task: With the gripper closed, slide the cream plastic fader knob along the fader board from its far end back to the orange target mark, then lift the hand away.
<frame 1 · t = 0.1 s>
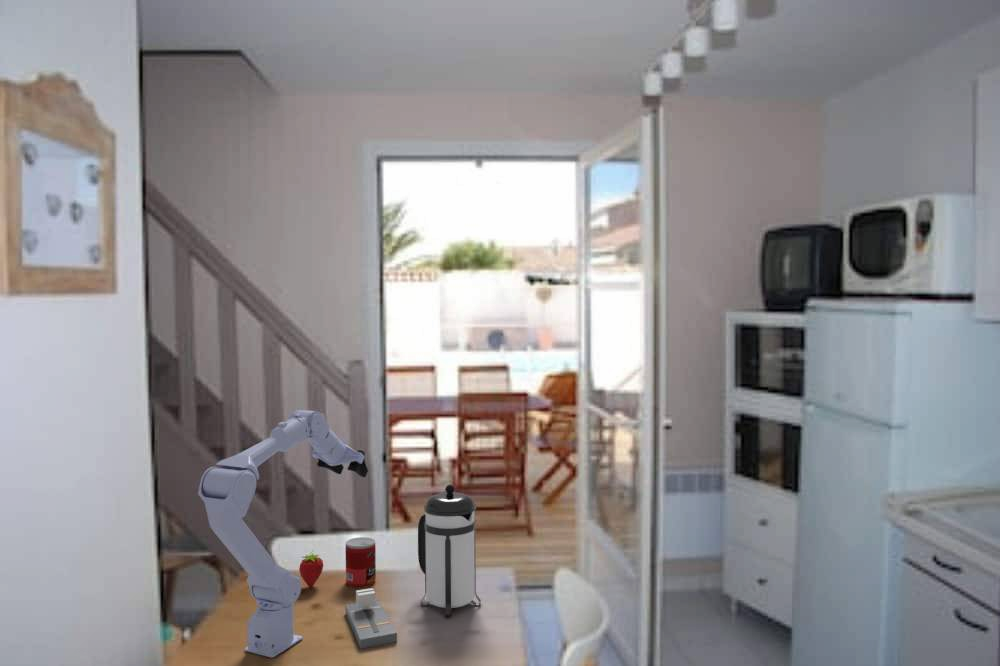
hand: (353, 472, 172), 32 cm above the table, tool tilted 50°, fingers open, 7 cm apart
strawberry: (311, 587, 179), on the table
coffee press: (446, 604, 168), on the table
canned food: (360, 582, 182), on the table
fader board: (370, 626, 156), on the table
fader knob: (365, 599, 160), point 4 cm above the table, slide at 5.0 cm
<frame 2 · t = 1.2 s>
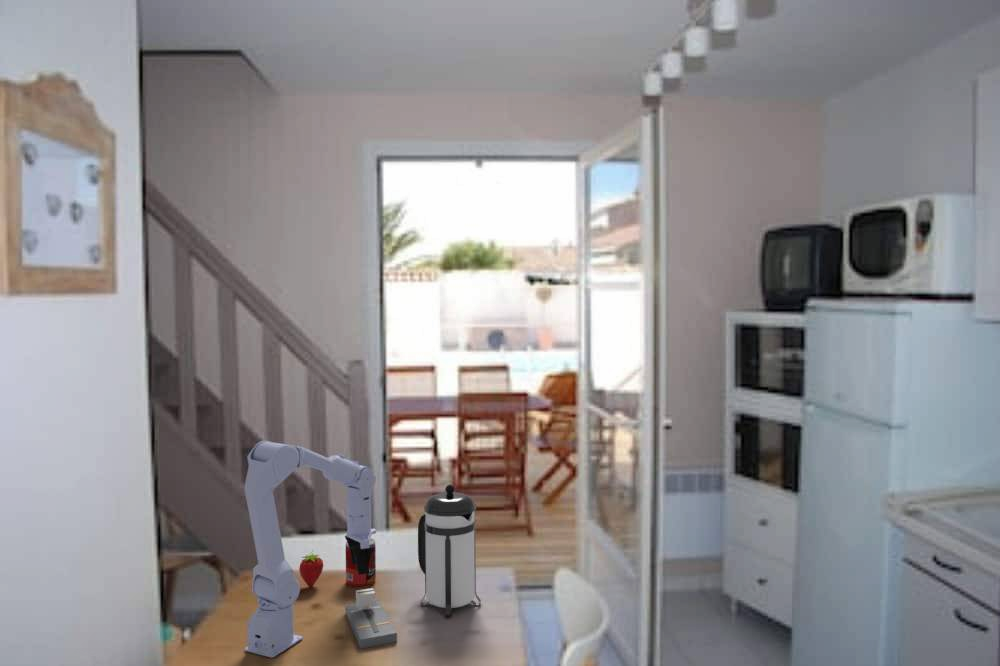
hand: (359, 568, 167), 9 cm above the table, tool pointing down, fingers open, 7 cm apart
nothing on the table moved.
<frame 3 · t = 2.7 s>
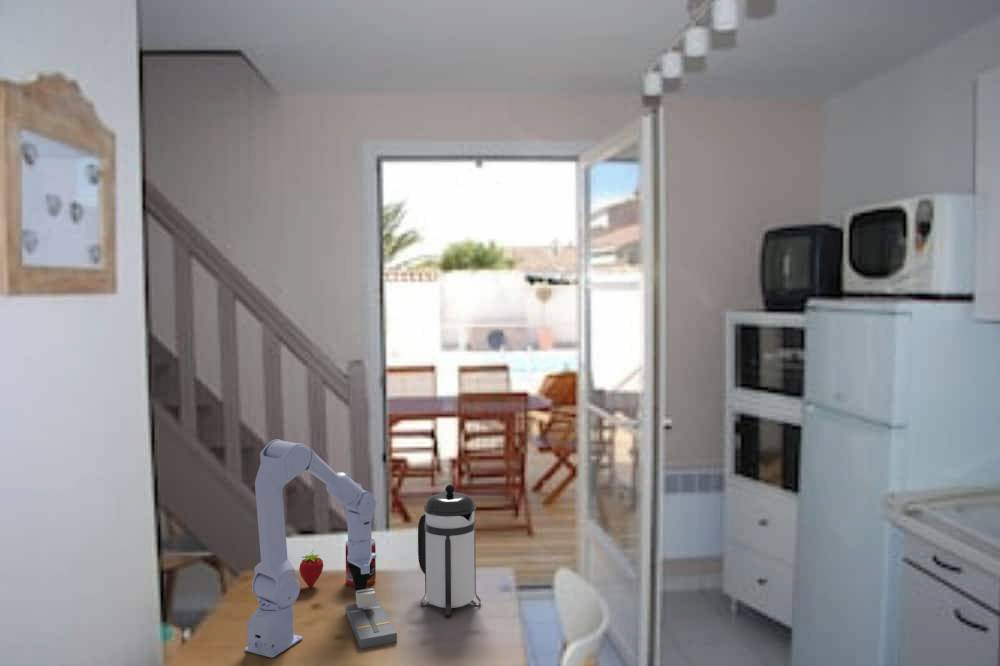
hand: (360, 593, 167), 3 cm above the table, tool pointing down, fingers closed
nothing on the table moved.
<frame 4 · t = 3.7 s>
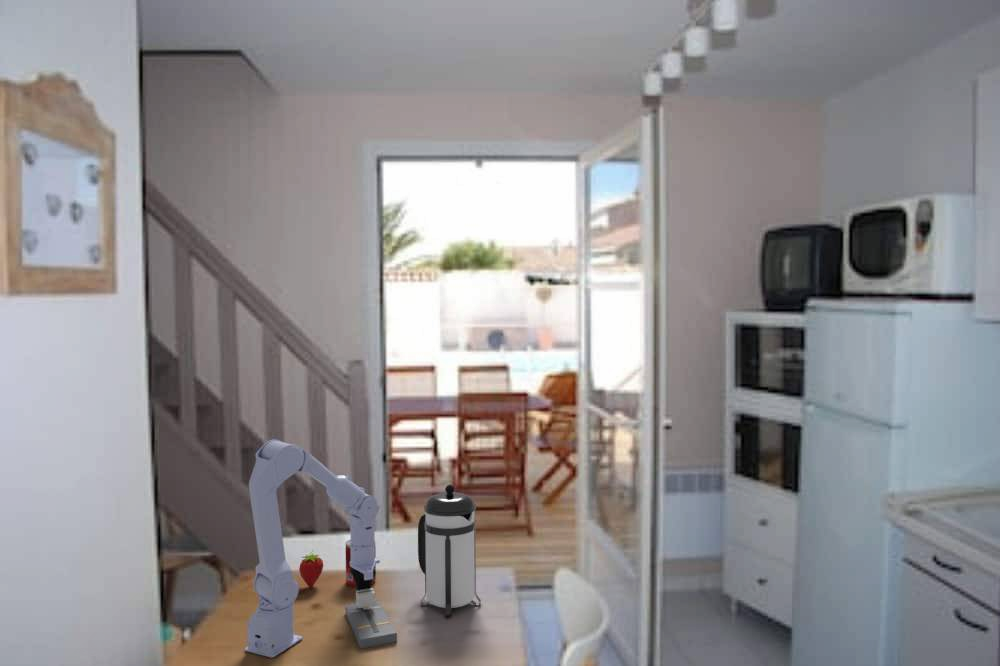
hand: (363, 599, 163), 3 cm above the table, tool pointing down, fingers closed
fader knob: (365, 599, 160), point 4 cm above the table, slide at 5.0 cm, touching gripper
everything else where it was.
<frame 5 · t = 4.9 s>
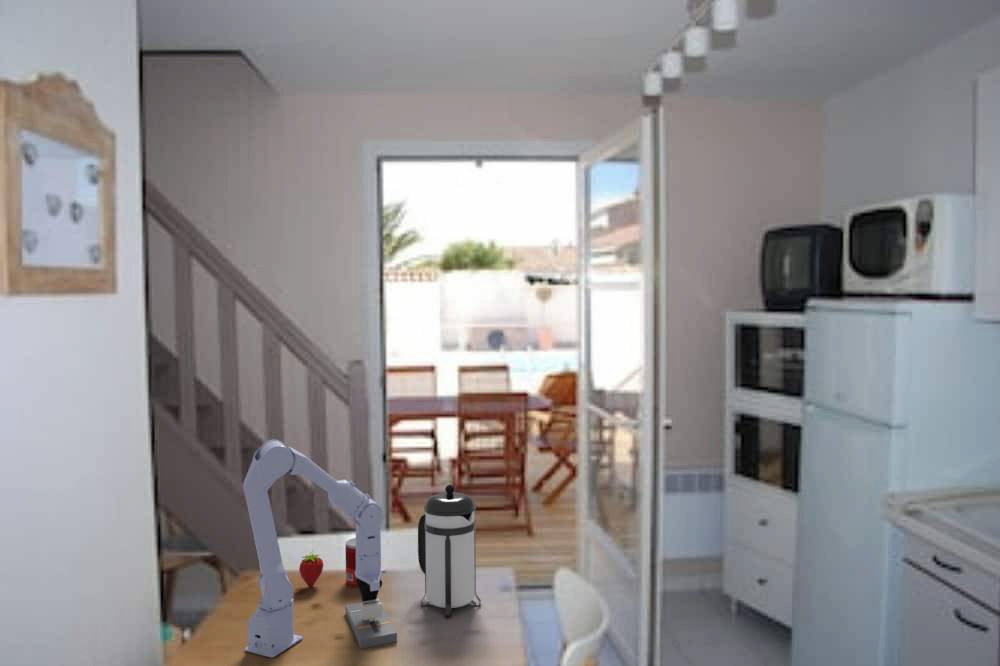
hand: (368, 610, 157), 3 cm above the table, tool pointing down, fingers closed
fader knob: (371, 611, 154), point 4 cm above the table, slide at -1.8 cm, touching gripper
everything else where it was.
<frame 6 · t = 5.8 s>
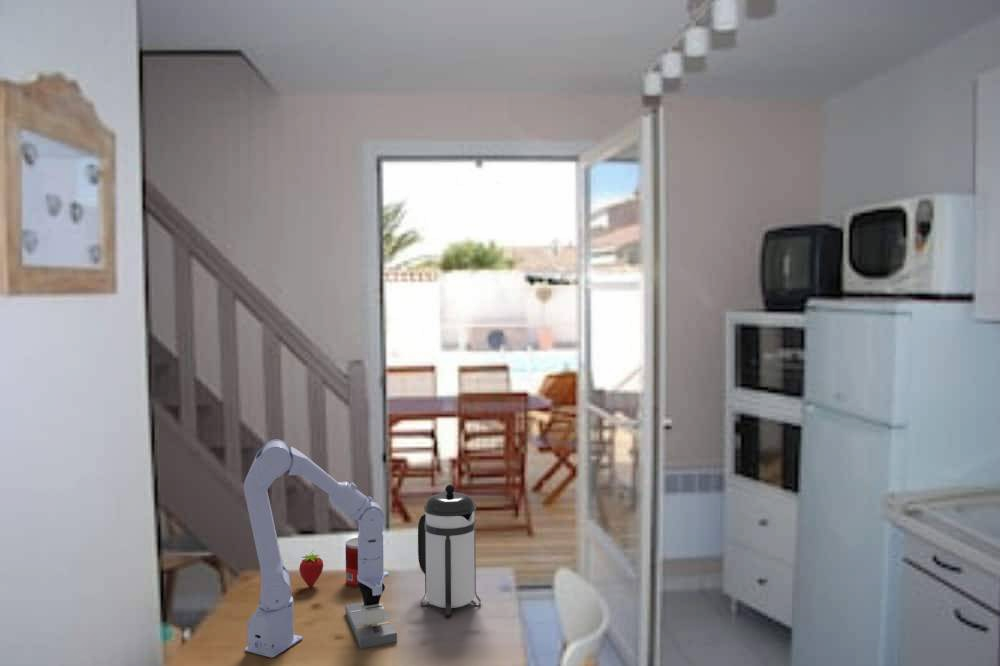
hand: (371, 614, 154), 3 cm above the table, tool pointing down, fingers closed
fader knob: (373, 616, 152), point 4 cm above the table, slide at -4.5 cm, touching gripper
everything else where it was.
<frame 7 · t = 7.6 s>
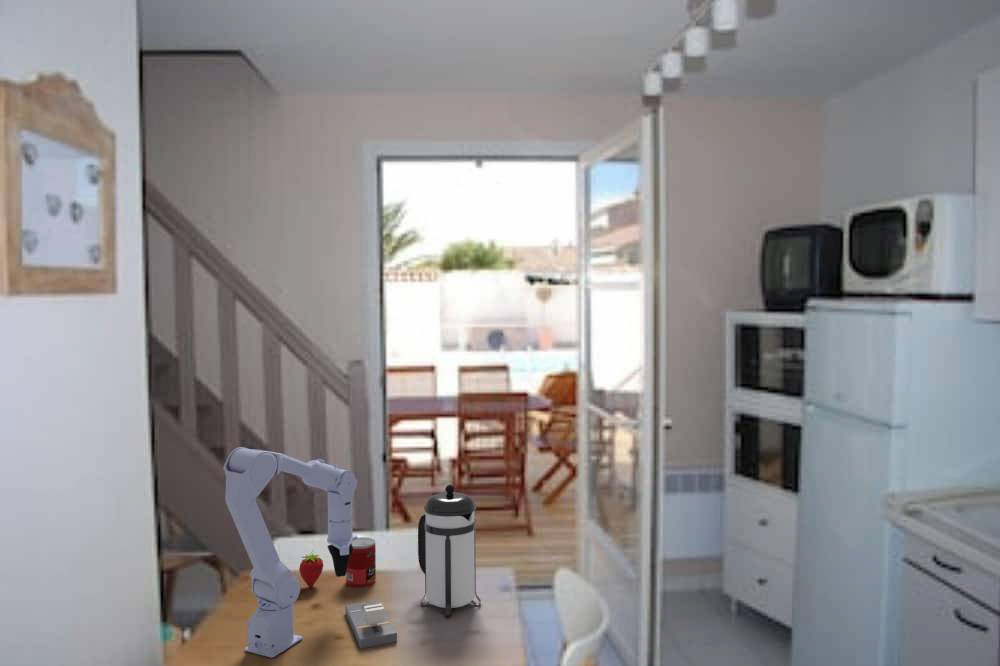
hand: (340, 575, 162), 9 cm above the table, tool pointing down, fingers closed
fader knob: (373, 616, 152), point 4 cm above the table, slide at -4.5 cm
everything else where it was.
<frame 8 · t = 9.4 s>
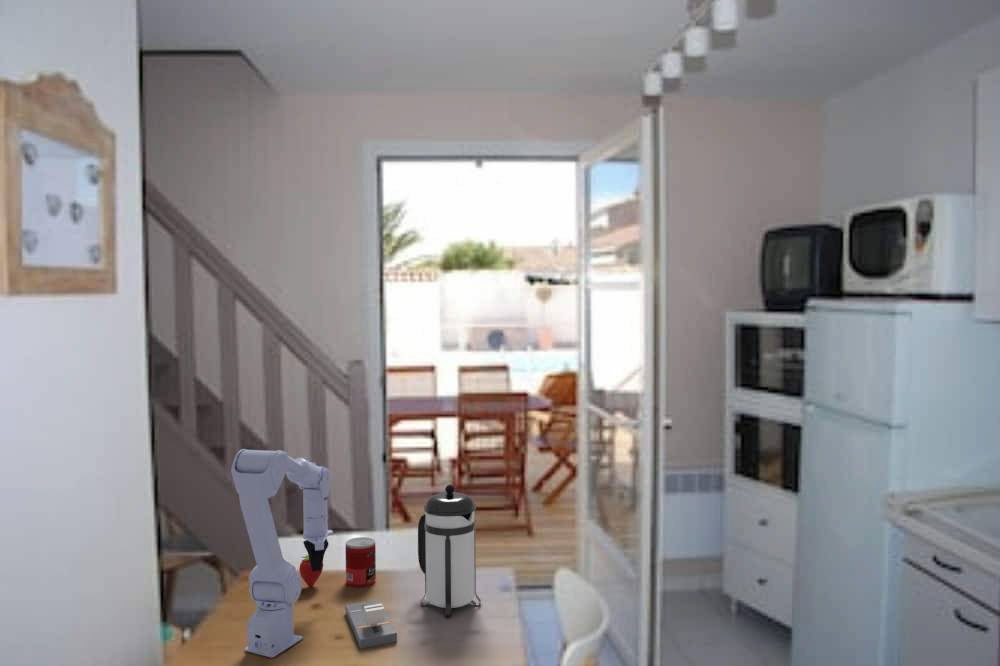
hand: (316, 570, 166), 9 cm above the table, tool pointing down, fingers closed
nothing on the table moved.
at the end: fader knob slide at -4.5 cm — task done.
